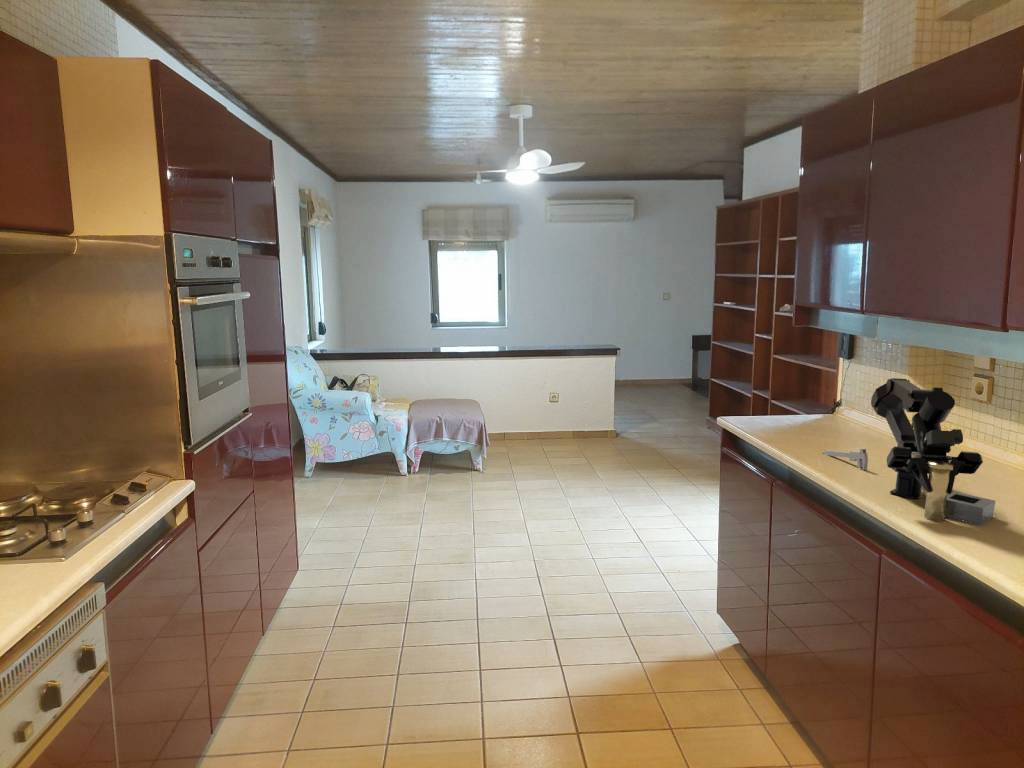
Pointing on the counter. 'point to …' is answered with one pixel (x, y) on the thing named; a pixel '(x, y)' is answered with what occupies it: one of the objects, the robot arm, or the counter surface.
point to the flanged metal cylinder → (937, 490)
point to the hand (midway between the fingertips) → (939, 492)
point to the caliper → (852, 457)
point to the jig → (969, 508)
